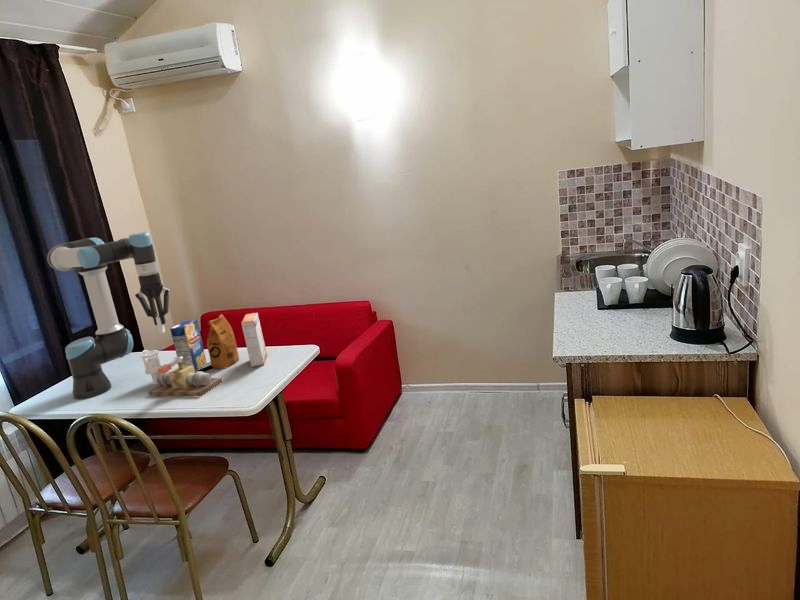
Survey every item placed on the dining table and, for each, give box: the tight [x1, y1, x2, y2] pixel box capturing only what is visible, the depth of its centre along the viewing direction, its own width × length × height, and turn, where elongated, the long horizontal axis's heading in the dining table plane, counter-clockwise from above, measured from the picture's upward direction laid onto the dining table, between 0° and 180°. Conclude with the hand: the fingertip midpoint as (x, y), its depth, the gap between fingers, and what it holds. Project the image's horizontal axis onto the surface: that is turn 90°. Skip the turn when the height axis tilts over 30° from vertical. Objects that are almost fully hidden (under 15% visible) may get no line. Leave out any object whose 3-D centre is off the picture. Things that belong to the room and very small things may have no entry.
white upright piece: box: [140, 349, 162, 385], centre depth 256 cm, size 7×7×15 cm
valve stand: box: [148, 362, 223, 397], centre depth 243 cm, size 26×14×12 cm, turn 69°
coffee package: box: [206, 314, 240, 369], centre depth 268 cm, size 10×12×22 cm
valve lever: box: [157, 356, 184, 374], centre depth 236 cm, size 14×3×2 cm, turn 168°
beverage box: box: [169, 319, 208, 373], centre depth 264 cm, size 7×11×22 cm, turn 170°
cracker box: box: [240, 312, 268, 368], centre depth 264 cm, size 14×6×21 cm, turn 6°
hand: (162, 332), depth 231 cm, fingers closed
